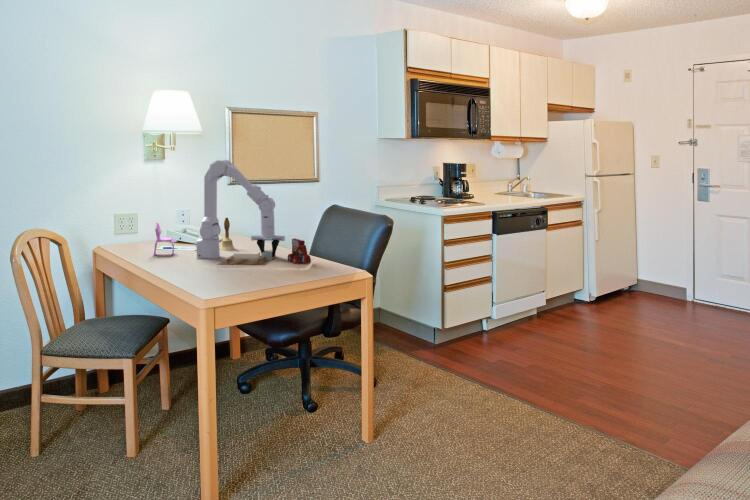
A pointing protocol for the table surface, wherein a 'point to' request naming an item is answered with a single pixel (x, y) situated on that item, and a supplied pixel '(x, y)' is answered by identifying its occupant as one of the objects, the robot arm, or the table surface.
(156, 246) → the toy chair
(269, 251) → the pale blue rectangular block
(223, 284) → the table surface
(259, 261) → the jig
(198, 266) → the table surface
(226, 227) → the hand bell
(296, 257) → the toy fire truck
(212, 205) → the robot arm
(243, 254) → the tall white pillar block
